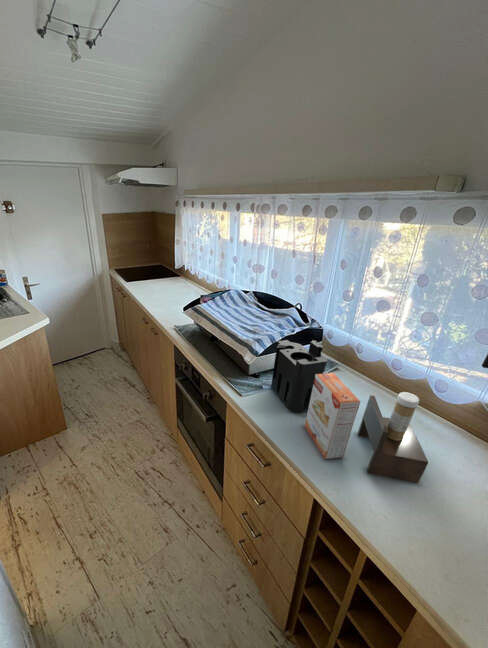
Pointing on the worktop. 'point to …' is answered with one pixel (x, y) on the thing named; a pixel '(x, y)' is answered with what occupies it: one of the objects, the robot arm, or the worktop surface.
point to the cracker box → (331, 415)
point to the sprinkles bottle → (402, 415)
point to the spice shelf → (391, 448)
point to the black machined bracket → (296, 373)
